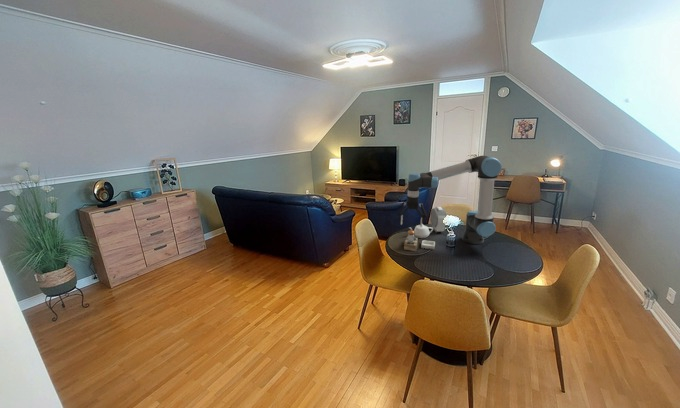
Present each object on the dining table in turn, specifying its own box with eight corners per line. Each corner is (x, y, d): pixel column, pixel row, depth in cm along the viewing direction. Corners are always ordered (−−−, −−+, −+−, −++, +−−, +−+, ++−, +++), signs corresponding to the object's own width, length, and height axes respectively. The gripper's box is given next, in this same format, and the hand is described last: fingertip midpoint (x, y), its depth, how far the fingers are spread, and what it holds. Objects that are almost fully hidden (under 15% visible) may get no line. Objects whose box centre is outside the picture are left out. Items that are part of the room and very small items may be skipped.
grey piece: (446, 234, 222) (448, 210, 217) (435, 234, 222) (437, 210, 217) (438, 226, 240) (440, 204, 234) (428, 226, 240) (430, 204, 234)
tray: (422, 243, 206) (422, 240, 206) (434, 244, 203) (435, 241, 203) (421, 248, 198) (421, 244, 198) (434, 249, 195) (434, 246, 195)
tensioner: (406, 241, 210) (407, 233, 208) (417, 243, 207) (417, 235, 205) (403, 249, 197) (404, 240, 195) (415, 250, 194) (415, 242, 192)
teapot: (411, 239, 213) (411, 227, 210) (405, 233, 225) (406, 222, 222) (435, 238, 215) (436, 226, 212) (429, 232, 227) (430, 220, 224)
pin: (407, 246, 202) (408, 229, 198) (413, 247, 200) (414, 230, 197) (406, 248, 198) (407, 231, 194) (413, 249, 196) (414, 232, 193)
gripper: (393, 196, 189) (392, 224, 195) (431, 198, 181) (429, 229, 187) (395, 193, 196) (394, 221, 202) (432, 196, 188) (429, 225, 193)
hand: (411, 225), depth 194 cm, fingers open, 13 cm apart
